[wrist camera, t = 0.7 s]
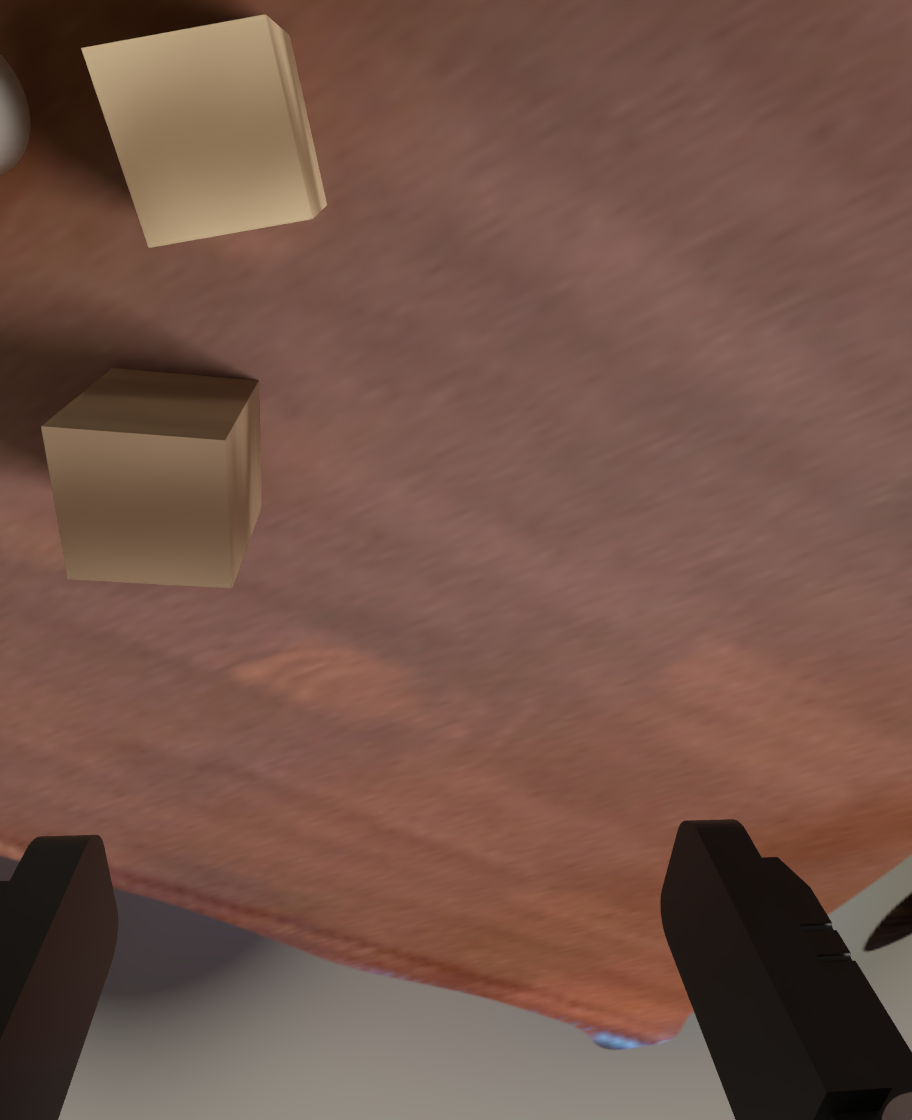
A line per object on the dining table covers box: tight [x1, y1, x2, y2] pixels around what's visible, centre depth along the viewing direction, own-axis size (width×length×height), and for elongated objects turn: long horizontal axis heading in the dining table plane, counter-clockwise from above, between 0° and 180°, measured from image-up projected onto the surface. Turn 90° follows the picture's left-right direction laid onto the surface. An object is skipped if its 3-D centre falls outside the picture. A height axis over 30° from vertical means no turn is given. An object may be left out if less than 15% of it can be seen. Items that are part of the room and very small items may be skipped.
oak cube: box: [81, 15, 327, 248], centre depth 21 cm, size 4×4×4 cm
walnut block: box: [41, 368, 262, 588], centre depth 25 cm, size 5×5×6 cm
